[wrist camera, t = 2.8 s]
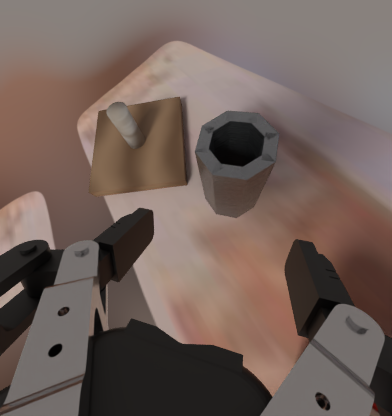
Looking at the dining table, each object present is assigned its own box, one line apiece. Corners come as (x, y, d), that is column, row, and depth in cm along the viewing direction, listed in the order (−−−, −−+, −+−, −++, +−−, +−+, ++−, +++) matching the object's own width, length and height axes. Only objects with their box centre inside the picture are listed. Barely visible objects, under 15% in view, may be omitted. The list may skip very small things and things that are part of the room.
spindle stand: (181, 105, 30) (170, 57, 23) (187, 184, 25) (174, 153, 18) (104, 118, 31) (72, 76, 24) (95, 196, 26) (53, 171, 20)
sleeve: (258, 176, 24) (281, 115, 15) (251, 220, 22) (272, 183, 13) (212, 169, 25) (206, 108, 16) (202, 211, 24) (189, 171, 14)
